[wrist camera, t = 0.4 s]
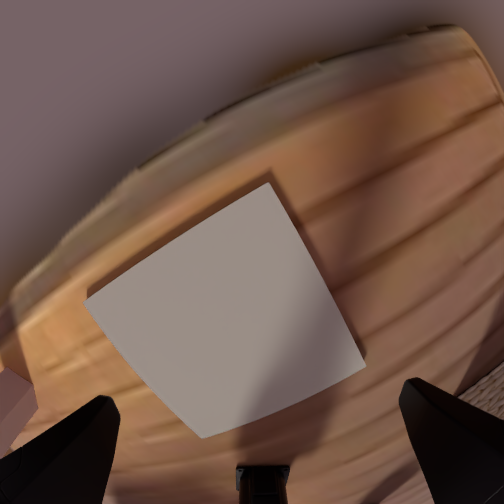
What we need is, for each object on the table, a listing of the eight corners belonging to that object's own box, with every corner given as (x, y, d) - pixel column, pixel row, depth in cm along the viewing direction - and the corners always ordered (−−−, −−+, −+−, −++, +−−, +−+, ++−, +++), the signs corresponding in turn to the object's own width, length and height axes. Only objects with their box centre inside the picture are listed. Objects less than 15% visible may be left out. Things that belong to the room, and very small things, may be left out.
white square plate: (363, 361, 23) (366, 366, 23) (202, 433, 25) (201, 438, 24) (267, 182, 20) (268, 182, 19) (86, 299, 22) (82, 302, 21)
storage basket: (494, 428, 30) (527, 470, 16) (428, 472, 31) (456, 525, 17) (519, 339, 25) (579, 386, 11) (440, 399, 26) (497, 474, 11)
